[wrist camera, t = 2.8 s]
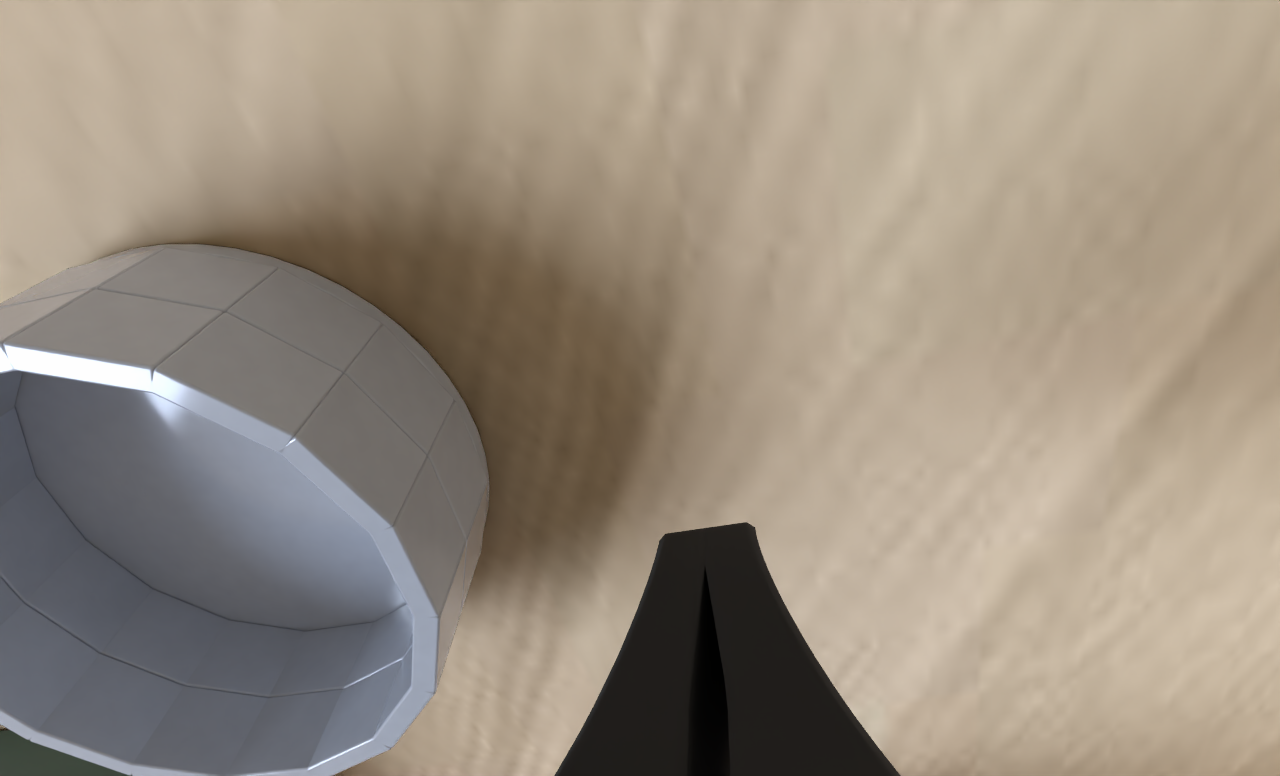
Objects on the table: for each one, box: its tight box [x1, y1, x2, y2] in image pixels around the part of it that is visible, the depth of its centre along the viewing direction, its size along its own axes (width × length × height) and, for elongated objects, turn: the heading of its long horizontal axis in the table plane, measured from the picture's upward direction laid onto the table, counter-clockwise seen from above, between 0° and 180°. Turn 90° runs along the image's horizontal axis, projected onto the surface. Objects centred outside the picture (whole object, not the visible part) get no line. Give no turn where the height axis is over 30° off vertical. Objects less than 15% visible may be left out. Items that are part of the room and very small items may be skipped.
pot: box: [0, 244, 489, 776], centre depth 16 cm, size 11×11×5 cm
